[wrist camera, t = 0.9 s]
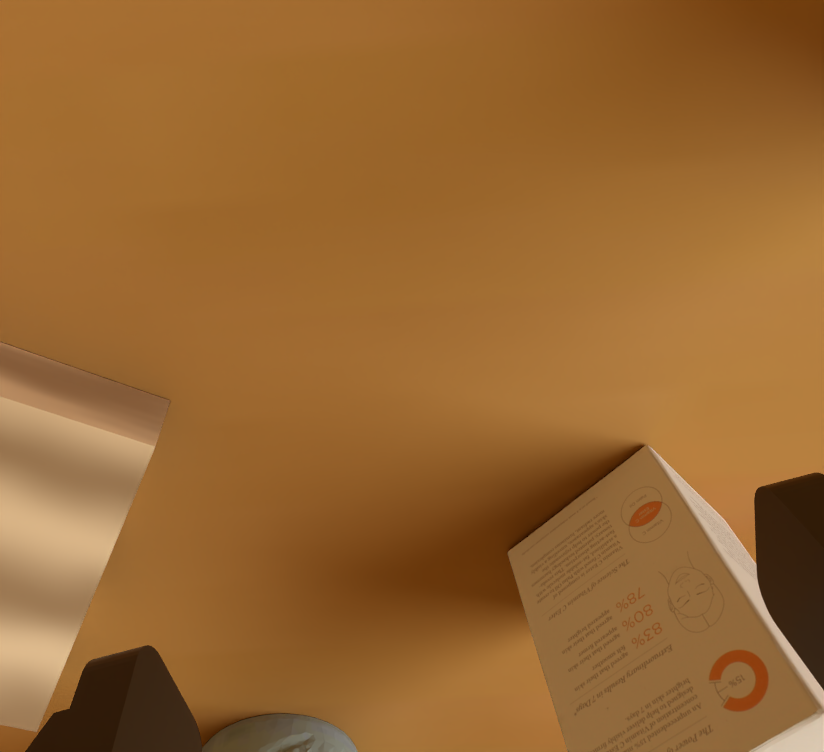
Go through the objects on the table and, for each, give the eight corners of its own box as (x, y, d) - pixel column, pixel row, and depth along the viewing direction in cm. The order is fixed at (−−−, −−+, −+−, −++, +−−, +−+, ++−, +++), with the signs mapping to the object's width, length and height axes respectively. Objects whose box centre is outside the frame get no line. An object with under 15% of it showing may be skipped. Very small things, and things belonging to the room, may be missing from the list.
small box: (587, 615, 37) (703, 913, 26) (502, 550, 34) (590, 850, 23) (727, 516, 35) (922, 796, 23) (648, 438, 32) (824, 711, 21)
